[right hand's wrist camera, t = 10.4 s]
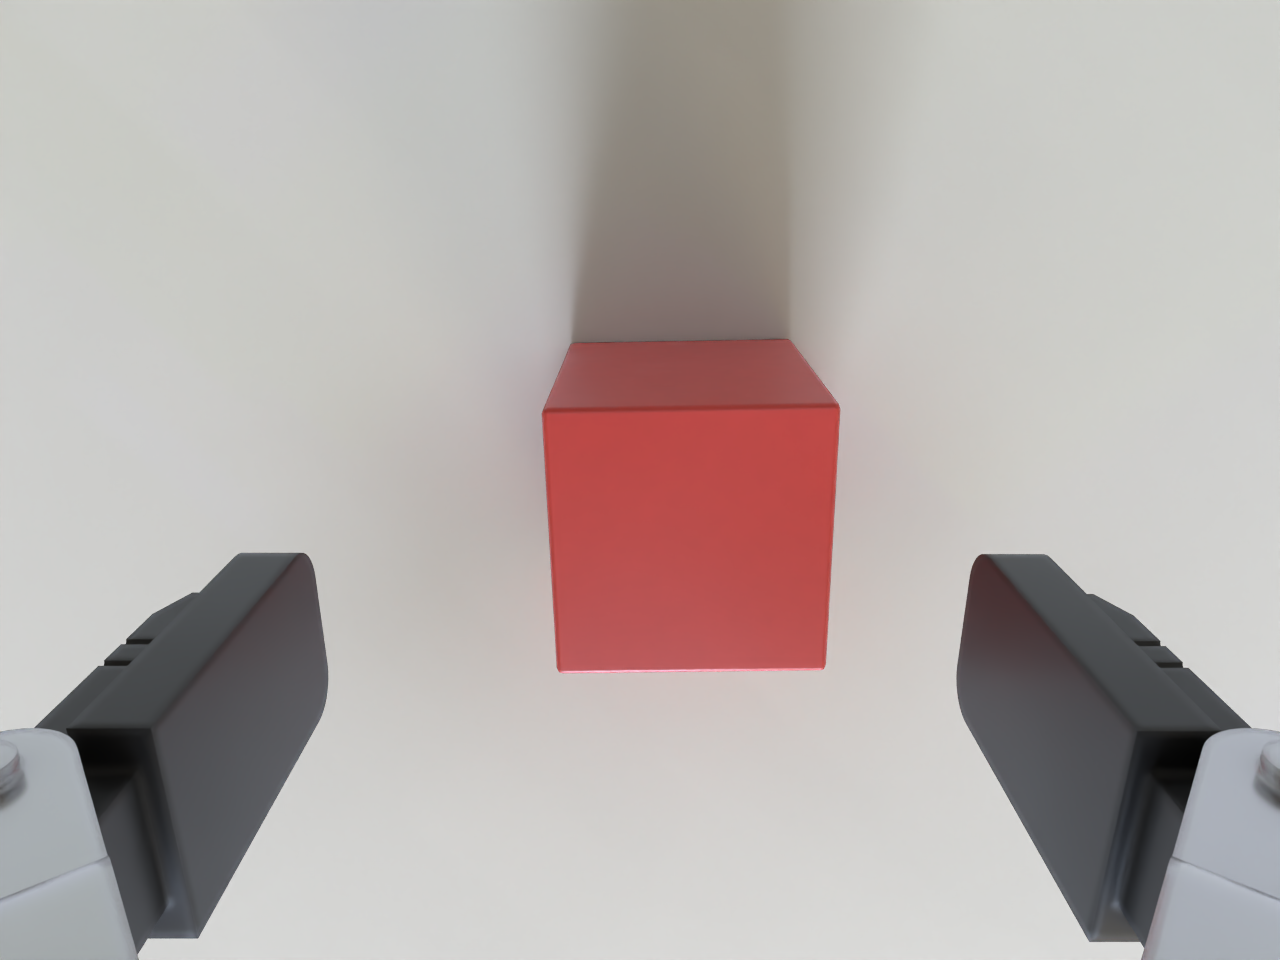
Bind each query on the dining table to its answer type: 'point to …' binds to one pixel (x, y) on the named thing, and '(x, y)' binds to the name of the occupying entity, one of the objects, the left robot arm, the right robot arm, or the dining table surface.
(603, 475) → the block
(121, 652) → the right robot arm
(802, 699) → the dining table surface
